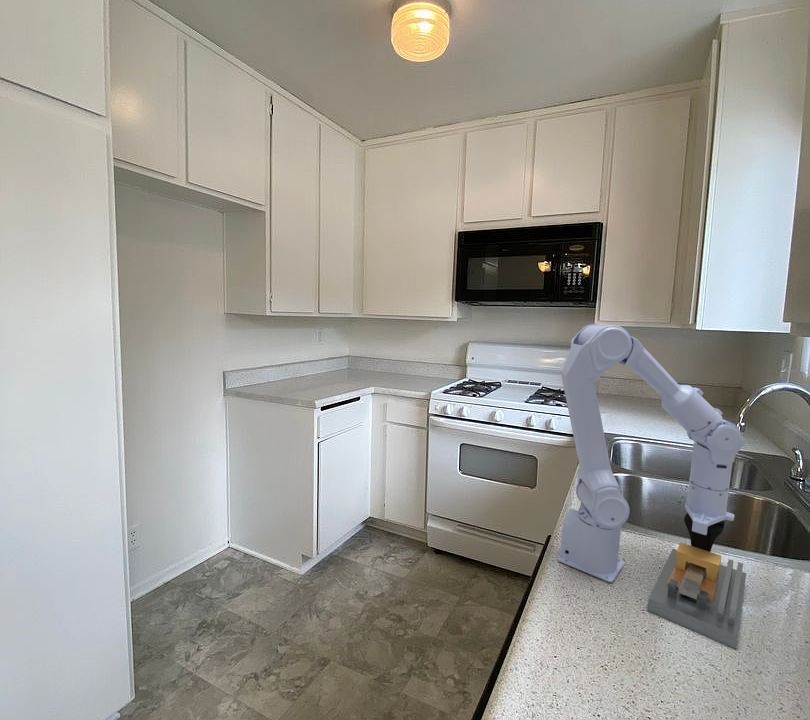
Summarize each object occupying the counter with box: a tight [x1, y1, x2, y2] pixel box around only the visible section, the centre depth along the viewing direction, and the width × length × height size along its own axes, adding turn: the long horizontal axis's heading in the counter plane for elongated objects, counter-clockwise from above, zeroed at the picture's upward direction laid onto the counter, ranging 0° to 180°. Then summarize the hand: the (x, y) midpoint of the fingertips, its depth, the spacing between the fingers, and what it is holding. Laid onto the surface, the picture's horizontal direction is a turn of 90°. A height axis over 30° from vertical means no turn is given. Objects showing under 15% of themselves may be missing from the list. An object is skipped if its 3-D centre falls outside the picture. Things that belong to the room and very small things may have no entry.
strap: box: [678, 562, 706, 600], centre depth 70 cm, size 2×11×1 cm, turn 138°
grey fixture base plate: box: [647, 548, 747, 650], centre depth 70 cm, size 11×20×4 cm, turn 138°
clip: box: [675, 542, 722, 582], centre depth 73 cm, size 6×4×3 cm, turn 49°
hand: (700, 557), depth 76 cm, fingers closed
